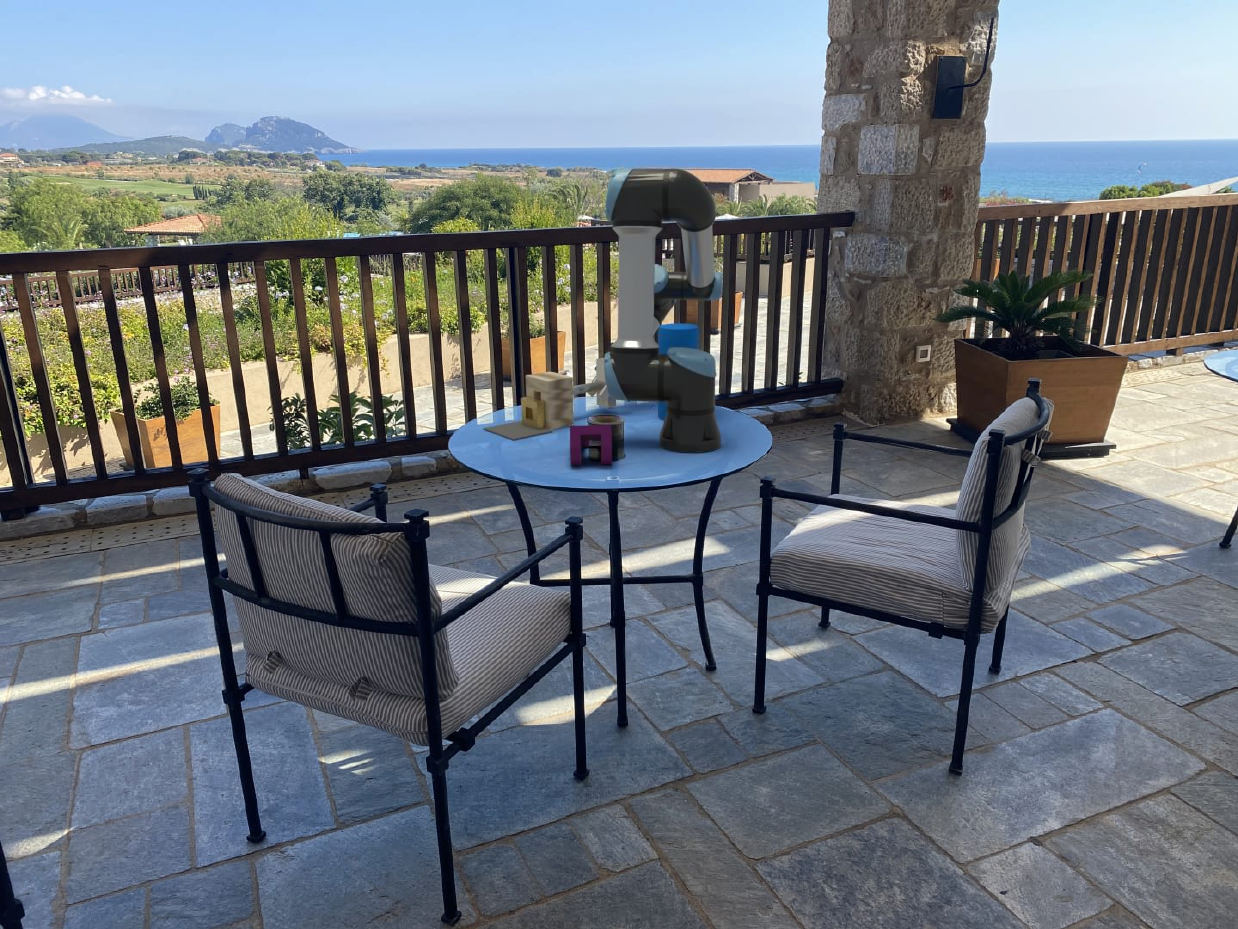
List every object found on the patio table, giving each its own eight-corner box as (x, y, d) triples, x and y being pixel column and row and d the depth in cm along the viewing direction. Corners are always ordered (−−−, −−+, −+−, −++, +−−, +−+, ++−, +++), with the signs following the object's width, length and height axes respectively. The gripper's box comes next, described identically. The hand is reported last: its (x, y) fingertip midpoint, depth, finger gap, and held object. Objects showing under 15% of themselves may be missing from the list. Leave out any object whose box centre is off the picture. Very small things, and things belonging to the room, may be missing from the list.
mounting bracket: (572, 473, 214) (569, 462, 196) (571, 439, 215) (569, 425, 197) (610, 472, 214) (612, 462, 196) (610, 438, 215) (611, 425, 197)
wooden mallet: (604, 402, 249) (604, 357, 245) (616, 406, 245) (615, 360, 242) (540, 416, 235) (538, 368, 231) (550, 419, 232) (549, 371, 228)
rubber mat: (521, 421, 237) (521, 420, 237) (552, 432, 227) (552, 430, 227) (483, 429, 230) (483, 428, 230) (513, 440, 220) (513, 439, 220)
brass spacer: (529, 422, 235) (528, 396, 233) (545, 428, 230) (544, 401, 227) (522, 424, 233) (520, 397, 231) (537, 429, 228) (536, 402, 226)
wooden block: (551, 418, 241) (550, 371, 237) (573, 425, 234) (572, 377, 230) (527, 422, 236) (525, 375, 232) (549, 430, 229) (547, 381, 225)
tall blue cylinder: (659, 411, 247) (660, 322, 240) (697, 413, 246) (699, 323, 238) (655, 421, 237) (656, 329, 229) (695, 422, 236) (697, 329, 228)
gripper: (669, 342, 244) (624, 409, 239) (626, 334, 257) (583, 398, 252) (655, 325, 239) (609, 393, 234) (612, 318, 252) (568, 382, 247)
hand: (596, 395), depth 243 cm, fingers closed on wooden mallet, 5 cm apart
